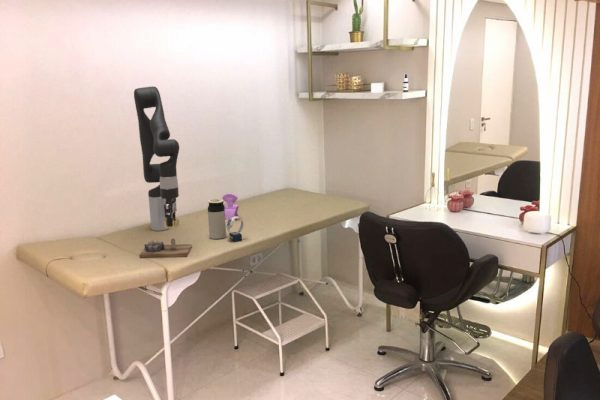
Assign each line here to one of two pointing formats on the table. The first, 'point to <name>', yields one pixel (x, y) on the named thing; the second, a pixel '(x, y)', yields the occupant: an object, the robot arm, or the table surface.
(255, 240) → the table surface
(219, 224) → the travel mug
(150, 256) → the gear board
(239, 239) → the watch
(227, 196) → the toy chair
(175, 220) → the brass gear
